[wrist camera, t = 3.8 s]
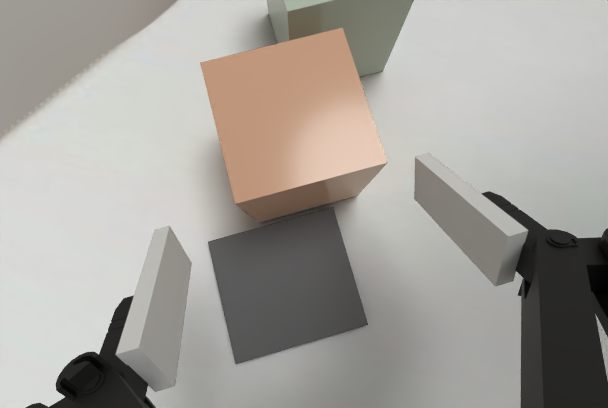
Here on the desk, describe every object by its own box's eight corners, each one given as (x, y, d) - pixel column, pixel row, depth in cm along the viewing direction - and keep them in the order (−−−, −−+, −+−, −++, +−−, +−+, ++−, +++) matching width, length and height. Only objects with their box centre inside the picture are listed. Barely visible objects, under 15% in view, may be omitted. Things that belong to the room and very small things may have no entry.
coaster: (332, 208, 27) (332, 207, 27) (366, 322, 26) (368, 324, 25) (210, 242, 27) (207, 241, 26) (237, 360, 25) (235, 364, 24)
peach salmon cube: (328, 105, 29) (342, 27, 19) (357, 195, 28) (387, 162, 18) (235, 129, 29) (200, 62, 19) (259, 222, 27) (235, 204, 17)
